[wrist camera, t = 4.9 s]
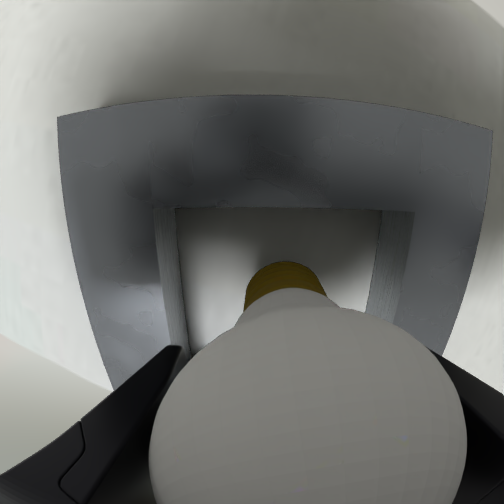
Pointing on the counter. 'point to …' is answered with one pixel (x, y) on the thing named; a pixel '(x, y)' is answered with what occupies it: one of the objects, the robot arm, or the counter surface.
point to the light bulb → (308, 409)
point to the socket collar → (265, 202)
